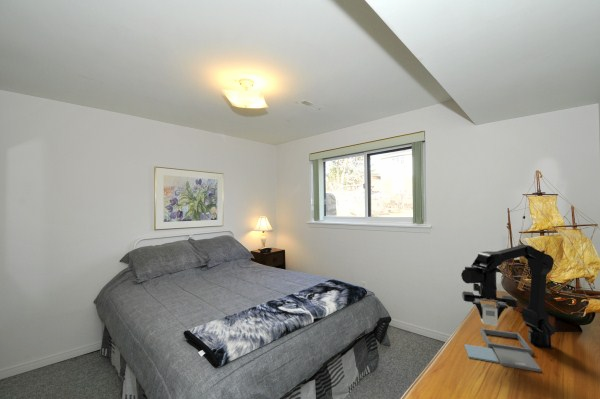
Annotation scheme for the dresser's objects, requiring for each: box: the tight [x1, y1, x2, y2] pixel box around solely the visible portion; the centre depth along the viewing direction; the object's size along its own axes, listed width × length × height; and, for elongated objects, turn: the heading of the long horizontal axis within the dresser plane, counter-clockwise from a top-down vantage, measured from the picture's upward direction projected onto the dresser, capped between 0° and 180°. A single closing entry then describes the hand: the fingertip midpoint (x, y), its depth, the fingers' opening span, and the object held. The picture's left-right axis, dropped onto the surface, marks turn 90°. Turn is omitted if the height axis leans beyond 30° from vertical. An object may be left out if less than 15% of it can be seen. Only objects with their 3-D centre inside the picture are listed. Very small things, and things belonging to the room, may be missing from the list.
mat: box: [463, 343, 500, 364], centre depth 110 cm, size 10×10×1 cm
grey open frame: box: [479, 327, 542, 373], centre depth 113 cm, size 15×27×2 cm, turn 157°
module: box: [480, 303, 499, 327], centre depth 114 cm, size 5×5×7 cm
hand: (488, 319), depth 114 cm, fingers closed on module, 5 cm apart
